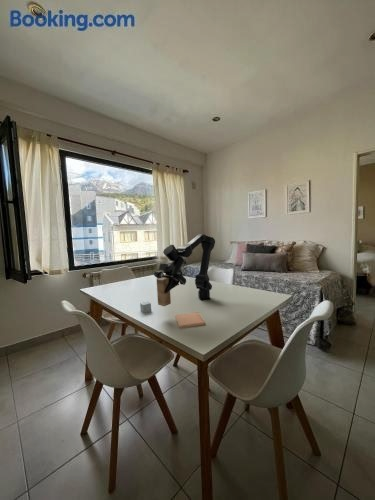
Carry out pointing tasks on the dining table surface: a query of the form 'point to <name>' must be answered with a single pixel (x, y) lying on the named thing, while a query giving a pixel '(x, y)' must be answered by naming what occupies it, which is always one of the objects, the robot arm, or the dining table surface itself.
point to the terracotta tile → (189, 320)
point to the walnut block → (163, 292)
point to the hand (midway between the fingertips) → (161, 292)
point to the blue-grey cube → (145, 306)
